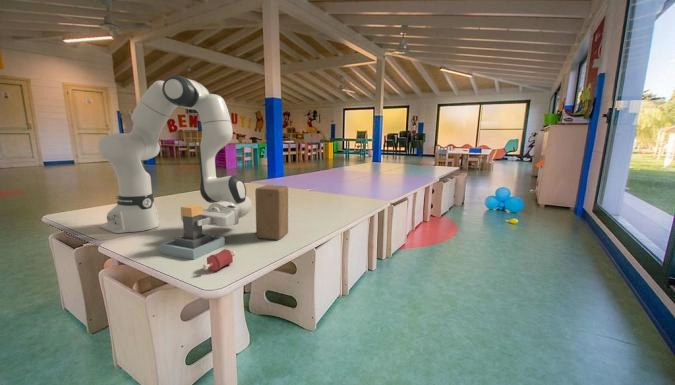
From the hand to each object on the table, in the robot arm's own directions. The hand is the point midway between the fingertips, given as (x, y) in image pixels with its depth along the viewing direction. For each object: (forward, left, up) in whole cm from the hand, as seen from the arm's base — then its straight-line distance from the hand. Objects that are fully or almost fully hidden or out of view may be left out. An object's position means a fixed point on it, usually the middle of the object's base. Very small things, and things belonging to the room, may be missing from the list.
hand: (190, 222), depth 95 cm
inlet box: (0, +1, -10) cm, 10 cm away
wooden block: (+17, +24, -10) cm, 31 cm away
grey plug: (0, +1, -8) cm, 9 cm away
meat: (+18, -7, -10) cm, 22 cm away
